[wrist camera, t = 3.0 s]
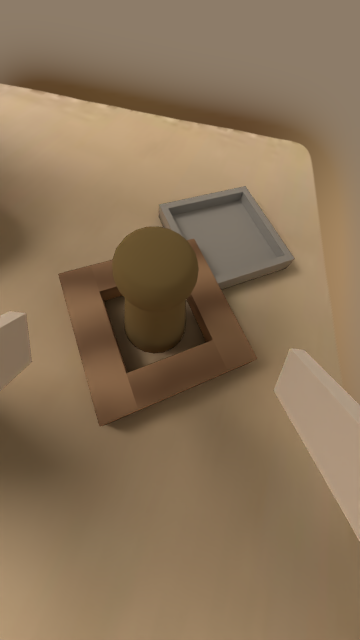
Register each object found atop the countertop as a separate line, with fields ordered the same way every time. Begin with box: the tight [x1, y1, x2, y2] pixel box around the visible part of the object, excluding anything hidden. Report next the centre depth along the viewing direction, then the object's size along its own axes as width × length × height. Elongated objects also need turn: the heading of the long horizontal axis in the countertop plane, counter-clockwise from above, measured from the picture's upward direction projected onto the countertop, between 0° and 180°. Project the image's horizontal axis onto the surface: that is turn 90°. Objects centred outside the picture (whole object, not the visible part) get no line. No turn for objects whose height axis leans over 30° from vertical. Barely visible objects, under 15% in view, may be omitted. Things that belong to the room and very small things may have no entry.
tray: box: [159, 186, 294, 289], centre depth 26 cm, size 12×12×2 cm
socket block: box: [58, 239, 257, 426], centre depth 22 cm, size 14×14×2 cm
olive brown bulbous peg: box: [112, 227, 199, 353], centre depth 17 cm, size 6×6×11 cm
